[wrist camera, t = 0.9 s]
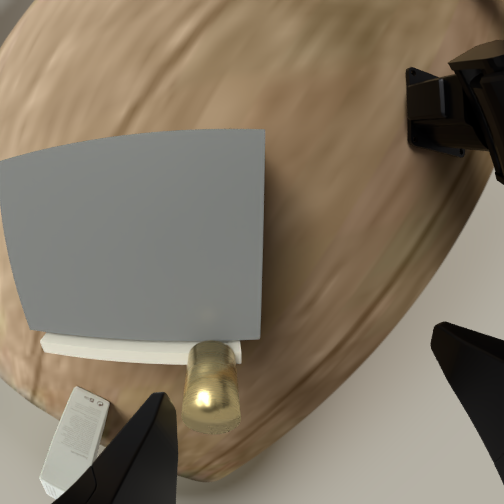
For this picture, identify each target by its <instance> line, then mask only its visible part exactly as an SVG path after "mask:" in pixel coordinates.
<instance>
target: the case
mask: <svg viewBox="0 0 504 504" xmlns="http://www.w3.org/2000/svg"><path fill="white" fill-rule="evenodd" d="M264 170H265V130H264V129H200V130H178V131H163V132H151V133H141V134H132V135H123V136H115V137H108V138H101V139H95V140H89V141H83V142H77V143H72V144H67V145H62V146H57V147H52V148H48V149H43V150H39V151H35V152H31V153H27V154H23V155H20V156H16V157H12V158H9V159H5V160H2V161H0V206H1V215H2V222H3V228H4V235H5V240H6V245H7V250H8V255H9V260H10V264H11V268H12V273H13V276H14V280H15V284H16V288H17V291H18V294H19V298H20V301H21V304H22V307H23V310H24V313H25V316H26V319H27V322H28V325H29V328H30V330H37V331H44V332H51V333H60V334H68V335H78V336H88V337H100V338H114V339H131V340H156V341H209V340H213V341H228V340H254V339H260V325H261V294H262V259H263V219H264Z"/></svg>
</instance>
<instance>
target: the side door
mask: <svg viewBox="0 0 504 504" xmlns="http://www.w3.org/2000/svg"><path fill="white" fill-rule="evenodd" d="M40 343H41V345H42V348H43V350H44V352H48V353H54V354H60V355H67V356H74V357H82V358H90V359H99V360H109V361H120V362H133V363H150V364H180V365H187V371H186V379H185V388H184V397H183V406H182V420H183V422H184V423H185V425H186V426H188V427H189V428H190V429H192V430H194V431H197V432H200V433H204V434H222V433H226V432H229V431H231V430H233V429H234V428H236V427H237V426H238V425H239V423H240V421H241V414H240V404H239V394H238V383H237V371H236V364H241V346H240V340H228V341H213V340H209V341H156V340H131V339H114V338H100V337H88V336H78V335H68V334H60V333H51V332H47V333H46V334H45V335H44V337H43V338H42V339H41V340H40Z"/></svg>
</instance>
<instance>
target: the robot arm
mask: <svg viewBox="0 0 504 504" xmlns="http://www.w3.org/2000/svg"><path fill="white" fill-rule="evenodd" d="M448 64H449V66H450V68H451V69H452V70H454V72H455V74H453V75H448V76H444V77H440V78H439V77H436V76H434V75H432V74H429V73H427V72H424V71H421V70H419V69H416V68H413V67H410V68H408V69H407V70H406V82H407V109H408V142H409V144H410V145H412V146H415V147H420V148H424V149H429V150H433V151H437V152H441V153H445V154H449V155H452V156H456V157H464V154H465V149H470V150H480V151H489V152H490V155H491V158H492V161H493V165H494V168H495V171H496V172H495V175H496V179H497V181H499V182H500V183H502V184H503V185H504V40H495V41H492V42H488V43H485V44H481V45H478V46H475V47H474V48H472V49H470V50H468V51H467V52H465V53H463V54H462V55H460V56H458V57H456V58H455V59H453V60H451V61H450V62H448ZM411 72H412V73H413V75H412V74H411ZM413 138H415V142H414V140H413ZM431 349H432V351H433V353H434V355H435V357H436V359H437V361H438V363H439V365H440V366H441V369H442V371H443V373H444V375H445V377H446V379H447V381H448V383H449V384H450V386H451V388H452V389H453V391H454V392H455V394H456V395H457V397H458V399H459V400H460V402H461V404H462V405H463V407H464V409H465V411H466V412H467V414H468V416H469V417H470V419H471V421H472V423H473V424H474V426H475V428H476V430H477V432H478V433H479V435H480V437H481V439H482V441H483V443H484V445H485V447H486V449H487V450H488V452H489V454H490V456H491V458H492V460H493V462H494V465H495V467H496V469H497V471H498V473H499V475H500V477H501V480H502V482H503V484H504V340H501V339H498V338H495V337H492V336H489V335H485V334H482V333H479V332H476V331H473V330H470V329H467V328H464V327H460V326H457V325H455V324H451V323H448V322H441V323H439V324H437V325H435V327H434V329H433V334H432V339H431ZM177 466H178V440H177V419H176V410H175V407H174V406H173V404H172V402H171V400H170V399H169V397H168V395H167V394H166V393H165V392H157V393H153V394H151V395H150V397H149V398H148V399H147V400H146V401H145V403H144V404H143V405H142V406H141V407H140V408H139V410H138V411H137V412H136V413H135V414H134V415H133V417H132V418H131V419H130V420H129V421H128V423H127V424H126V425H125V426H124V427H123V428H122V430H121V431H120V432H119V433H118V434H117V435H116V437H115V438H114V439H113V440H112V441H111V442H110V443H109V445H108V446H107V447H106V448H105V449H104V450H103V452H102V453H101V454H100V455H99V456H98V458H97V459H96V460H95V461H94V462H93V463H92V466H89V468H88V469H87V470H86V471H85V472H84V473H83V474H82V475H81V476H80V478H79V479H78V480H77V481H76V482H75V483H74V484H73V485H72V486H71V487H70V488H68V489H67V490H66V491H65V492H64V493H63V494H62V495H61V496H60V497H58V498H57V499H56V500H55V501H54V502H53V503H52V504H176V485H177Z"/></svg>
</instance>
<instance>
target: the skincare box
mask: <svg viewBox="0 0 504 504" xmlns="http://www.w3.org/2000/svg"><path fill="white" fill-rule="evenodd" d="M109 405H110V403H109V402H108V401H107V400H105V399H103V398H101V397H99V396H97V395H95V394H92V393H90V392H88V391H86V390H84V389H82V388H80V387H78V386H76V387H75V388H74V389H73V391H72V393H71V396H70V398H69V400H68V402H67V405H66V407H65V410H64V412H63V414H62V417H61V419H60V422H59V424H58V427H57V429H56V432H55V435H54V437H53V440H52V442H51V445H50V448H49V450H48V454H47V457H46V460H45V463H44V466H43V469H42V472H41V474H40V477H39V478H40V480H41V483H42V485H43V487H44V489H45V491H46V493H47V495H49V496H51V497H53V498H55V499H57V498H58V497H60V496H61V495H62V494H63V493H64V492H65V491H66V490H67V489H68V488H70V487H71V486H72V485H73V484H74V483H75V482H76V481H77V480H78V479H79V478H80V476H81V475H82V474H83V473H84V472H85V471H86V470H87V469H88V468H89V466H92V463H93V462H94V461H95V460H96V457H97V453H98V449H99V445H100V441H101V437H102V434H103V430H104V426H105V422H106V418H107V413H108V409H109Z"/></svg>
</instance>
